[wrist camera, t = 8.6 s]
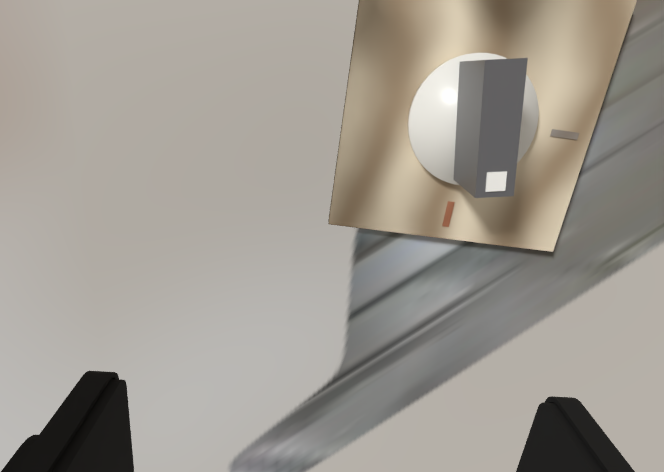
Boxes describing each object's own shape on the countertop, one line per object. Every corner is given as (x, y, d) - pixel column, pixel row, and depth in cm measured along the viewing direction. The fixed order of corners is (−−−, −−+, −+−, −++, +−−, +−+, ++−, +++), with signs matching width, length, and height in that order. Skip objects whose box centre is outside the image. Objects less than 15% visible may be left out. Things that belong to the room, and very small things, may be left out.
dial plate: (328, 220, 35) (328, 224, 34) (364, -40, 29) (365, -44, 28) (547, 247, 36) (553, 252, 35) (627, 2, 30) (637, -1, 29)
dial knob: (408, 56, 30) (426, 53, 24) (542, 49, 30) (589, 45, 24) (406, 186, 33) (422, 208, 28) (527, 180, 33) (566, 202, 28)
